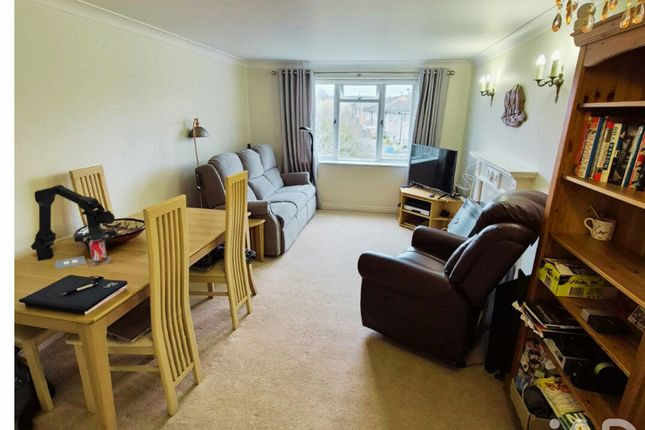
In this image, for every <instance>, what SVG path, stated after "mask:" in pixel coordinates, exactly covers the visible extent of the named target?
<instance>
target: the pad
mask: <svg viewBox="0 0 645 430" xmlns="http://www.w3.org/2000/svg"><path fill="white" fill-rule="evenodd" d="M112 263H114V261H113V258H112V255H107V258H105V259H104V260H102V261H94V260H92V258H89V259H87V265H88V268H93V267H98V266H103V265H108V264H112Z"/></svg>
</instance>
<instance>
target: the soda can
mask: <svg viewBox="0 0 645 430" xmlns="http://www.w3.org/2000/svg"><path fill="white" fill-rule="evenodd" d="M88 244H89V246H90V251H91V252H90V251H89V252H90V257H91V259H92V260H94V261H102V260H104V259H105V258H107V256H108V254H107V248H106V247H105V239H103V237H102V239H97V240H91V238H89V242H88Z"/></svg>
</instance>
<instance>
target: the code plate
mask: <svg viewBox="0 0 645 430" xmlns="http://www.w3.org/2000/svg"><path fill="white" fill-rule="evenodd" d="M86 262H87V261H86V258H85V255H82V256H75V257H69V258H64V259H59V260H55V270H59V269H65V268H70V267H75V266H80V265H81V266H82V265H85V264H87V263H86Z"/></svg>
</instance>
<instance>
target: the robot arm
mask: <svg viewBox="0 0 645 430" xmlns="http://www.w3.org/2000/svg"><path fill="white" fill-rule="evenodd" d="M57 195H58V196H60V197H61V198H64V199H66V200H68V201H70V202H73V203H75V204H77V205H78V207H79V208H80V209H82V210H83V212H81V215H84V216H85V219H86V225H87V230H88V233H87V234H84V233H83V232H81V233H75V234H74V235H73V238H74V242H75V243H82V244H84V245H85V246H86V247H87V248H86V249H88V251H89V252H90V253H91V251H90V246H89V242H88V238H89V239H91V240H97V239H102V238H103V237H104V242H105V247H106V249H107V247H108V244H109V241H110V239H112V238H113V237H117V231H116V229H115V228H108V229H106V228H102V227H101V226H102V225H101V224H105V225H106V224H108V225H112V224H113V223H114V222H115V217H116V216H115V215H114V214H113V213H112V211H111V210H106V209H105V208H104V206H103V205H102V204H101V203H100V201H99V200H98V199H97V198H95V197H93V196H92V197H91V196H85V195H82V194H80V193H78V192H76V191H74V190H71V189H69V188H67V187H65V186H64V185H62V184H57V185H54V186H52V187H47V188H43V189H40V190H36V191H35V192H34V199H35V202H36V204H37V205H38V231H37V232H36V234H35V237H34V242H32V244H31V246H30V248H31V249H32V250H33V251H36V255H37V261H42V260H48V259H53V258H54V249H53V247H51V246H53V245H55V241H56V239H57V238H56V235H57V234H56V232H54V231H52V205H53V203H54V202H55V199H56V196H57Z"/></svg>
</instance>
